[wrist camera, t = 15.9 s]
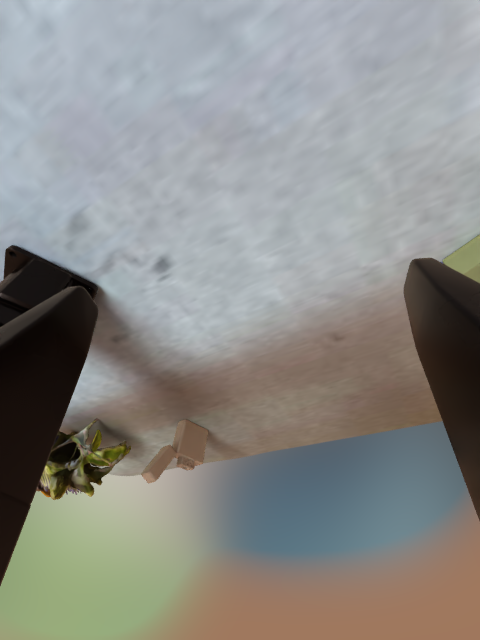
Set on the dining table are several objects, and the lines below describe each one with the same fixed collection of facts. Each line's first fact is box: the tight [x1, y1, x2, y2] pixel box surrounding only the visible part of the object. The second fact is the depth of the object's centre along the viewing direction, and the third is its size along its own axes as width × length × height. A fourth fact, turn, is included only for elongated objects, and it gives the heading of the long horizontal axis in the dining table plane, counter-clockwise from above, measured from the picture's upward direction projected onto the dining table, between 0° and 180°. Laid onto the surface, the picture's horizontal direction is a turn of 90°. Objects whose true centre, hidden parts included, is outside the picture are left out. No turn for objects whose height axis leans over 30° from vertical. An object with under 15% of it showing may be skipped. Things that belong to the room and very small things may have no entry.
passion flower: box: [36, 419, 131, 500], centre depth 42 cm, size 11×11×12 cm
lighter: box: [141, 419, 208, 483], centre depth 37 cm, size 7×2×8 cm, turn 45°
